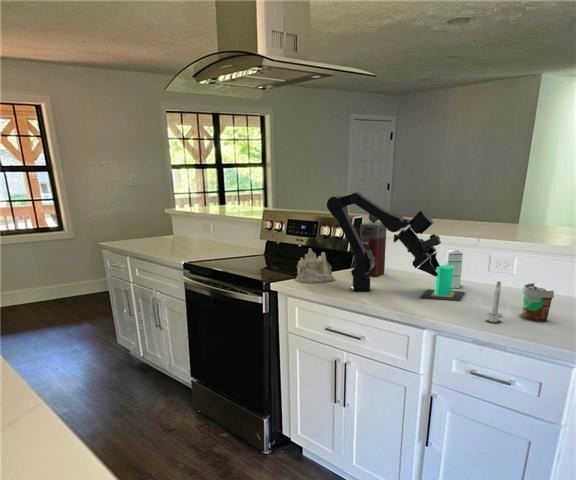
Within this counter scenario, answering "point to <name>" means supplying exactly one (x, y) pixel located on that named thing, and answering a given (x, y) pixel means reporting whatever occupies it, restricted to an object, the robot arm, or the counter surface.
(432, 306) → the counter surface
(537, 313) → the food container
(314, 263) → the sand castle
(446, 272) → the candle
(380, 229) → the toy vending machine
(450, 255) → the grey tower
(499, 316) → the screw
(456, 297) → the mat
